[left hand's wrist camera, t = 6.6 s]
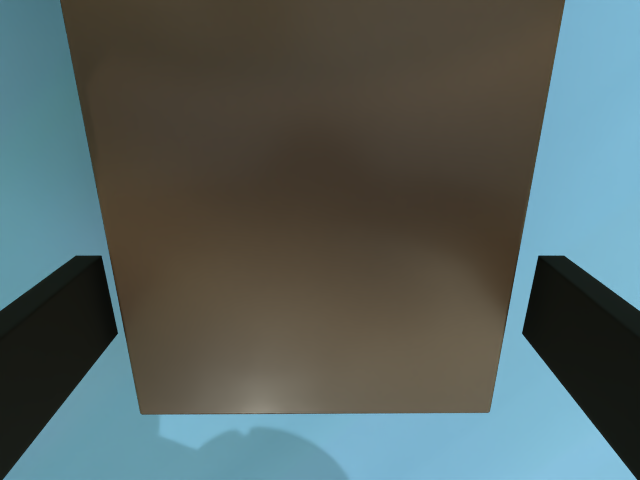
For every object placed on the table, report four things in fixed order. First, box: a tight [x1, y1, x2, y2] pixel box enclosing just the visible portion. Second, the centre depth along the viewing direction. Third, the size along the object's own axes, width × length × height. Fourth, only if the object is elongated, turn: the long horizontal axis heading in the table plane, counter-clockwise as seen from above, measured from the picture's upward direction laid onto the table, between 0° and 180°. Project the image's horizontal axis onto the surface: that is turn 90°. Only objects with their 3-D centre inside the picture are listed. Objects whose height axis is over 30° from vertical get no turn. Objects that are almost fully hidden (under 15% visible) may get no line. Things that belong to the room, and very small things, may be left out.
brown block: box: [60, 0, 565, 415], centre depth 14 cm, size 17×11×8 cm, turn 0°
